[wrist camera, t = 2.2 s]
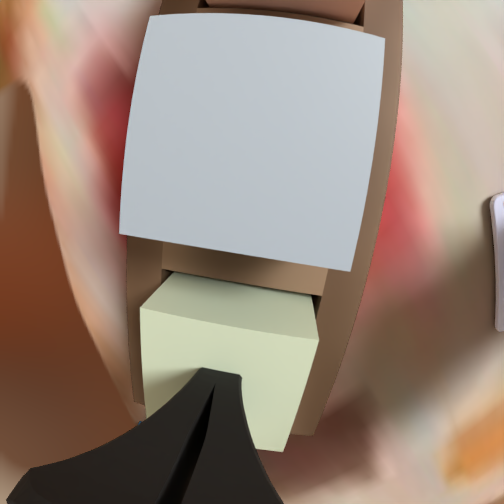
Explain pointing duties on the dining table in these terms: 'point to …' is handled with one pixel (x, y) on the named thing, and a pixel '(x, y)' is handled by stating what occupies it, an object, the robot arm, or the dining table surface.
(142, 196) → the slate key
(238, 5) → the peach square block
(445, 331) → the dining table surface
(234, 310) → the sage key
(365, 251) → the wooden tray
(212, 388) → the robot arm
